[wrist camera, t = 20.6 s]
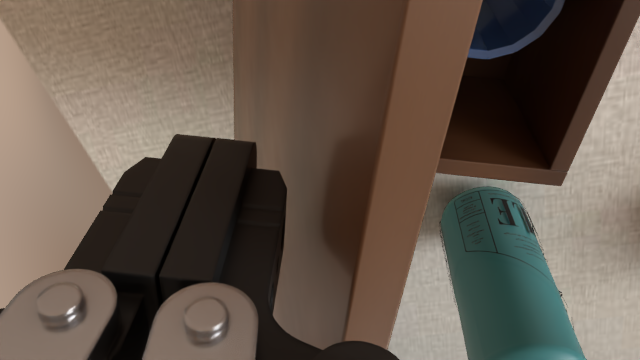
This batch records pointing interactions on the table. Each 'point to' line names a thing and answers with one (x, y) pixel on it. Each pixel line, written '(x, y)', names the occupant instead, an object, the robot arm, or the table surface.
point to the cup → (511, 25)
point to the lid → (348, 145)
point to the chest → (537, 97)
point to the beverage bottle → (503, 281)
